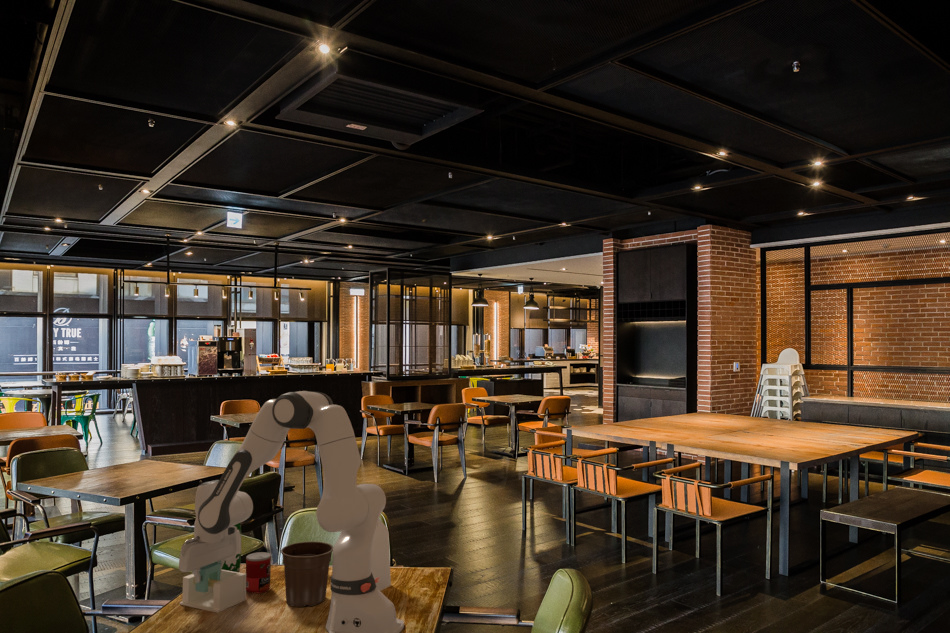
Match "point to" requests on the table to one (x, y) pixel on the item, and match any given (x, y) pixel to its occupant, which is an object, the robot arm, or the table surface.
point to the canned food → (258, 572)
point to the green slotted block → (208, 576)
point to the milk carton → (235, 560)
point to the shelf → (215, 592)
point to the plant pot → (306, 572)
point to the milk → (381, 557)
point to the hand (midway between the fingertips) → (208, 577)
